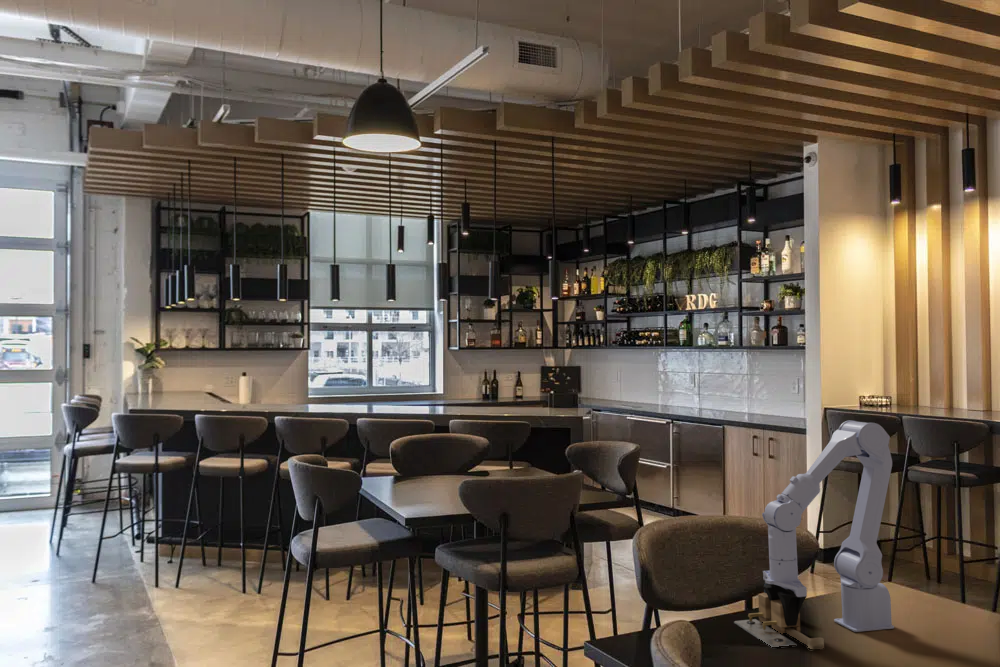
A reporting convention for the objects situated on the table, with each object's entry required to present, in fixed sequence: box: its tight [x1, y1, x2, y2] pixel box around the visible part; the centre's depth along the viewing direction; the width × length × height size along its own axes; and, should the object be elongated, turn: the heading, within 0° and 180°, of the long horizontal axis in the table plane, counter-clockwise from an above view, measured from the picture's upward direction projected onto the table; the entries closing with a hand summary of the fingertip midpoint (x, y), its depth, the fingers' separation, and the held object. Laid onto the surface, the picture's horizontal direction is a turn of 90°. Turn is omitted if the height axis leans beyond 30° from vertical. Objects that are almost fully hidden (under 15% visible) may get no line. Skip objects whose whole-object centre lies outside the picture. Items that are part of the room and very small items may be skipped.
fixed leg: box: [747, 592, 771, 623], centre depth 183 cm, size 8×3×6 cm, turn 101°
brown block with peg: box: [763, 600, 801, 635], centre depth 177 cm, size 8×4×6 cm, turn 101°
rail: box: [768, 618, 825, 649], centre depth 176 cm, size 3×22×2 cm, turn 11°
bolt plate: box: [733, 618, 797, 648], centre depth 176 cm, size 5×17×1 cm, turn 11°
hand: (785, 622), depth 177 cm, fingers closed on brown block with peg, 4 cm apart
